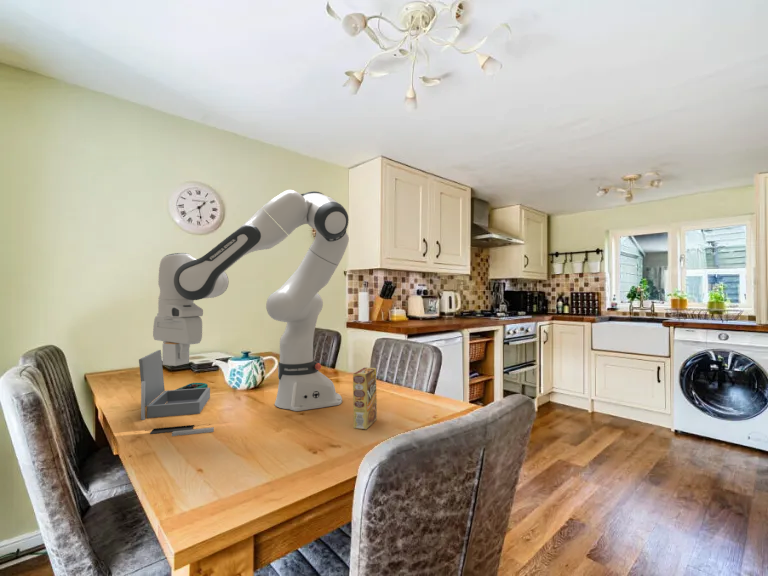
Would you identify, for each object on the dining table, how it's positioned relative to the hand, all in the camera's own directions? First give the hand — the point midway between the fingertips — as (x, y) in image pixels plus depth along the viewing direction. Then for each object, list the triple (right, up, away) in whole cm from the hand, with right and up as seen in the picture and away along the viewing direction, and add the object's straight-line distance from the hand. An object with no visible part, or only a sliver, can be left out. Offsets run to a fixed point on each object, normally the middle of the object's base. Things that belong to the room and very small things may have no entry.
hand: (176, 357), depth 106 cm
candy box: (+54, -19, 0) cm, 58 cm away
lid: (-13, -8, +11) cm, 19 cm away
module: (0, -2, 0) cm, 2 cm away
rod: (+8, -19, -7) cm, 22 cm away
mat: (0, -19, -1) cm, 19 cm away
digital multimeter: (-14, -20, +32) cm, 40 cm away
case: (-6, -19, +13) cm, 24 cm away
